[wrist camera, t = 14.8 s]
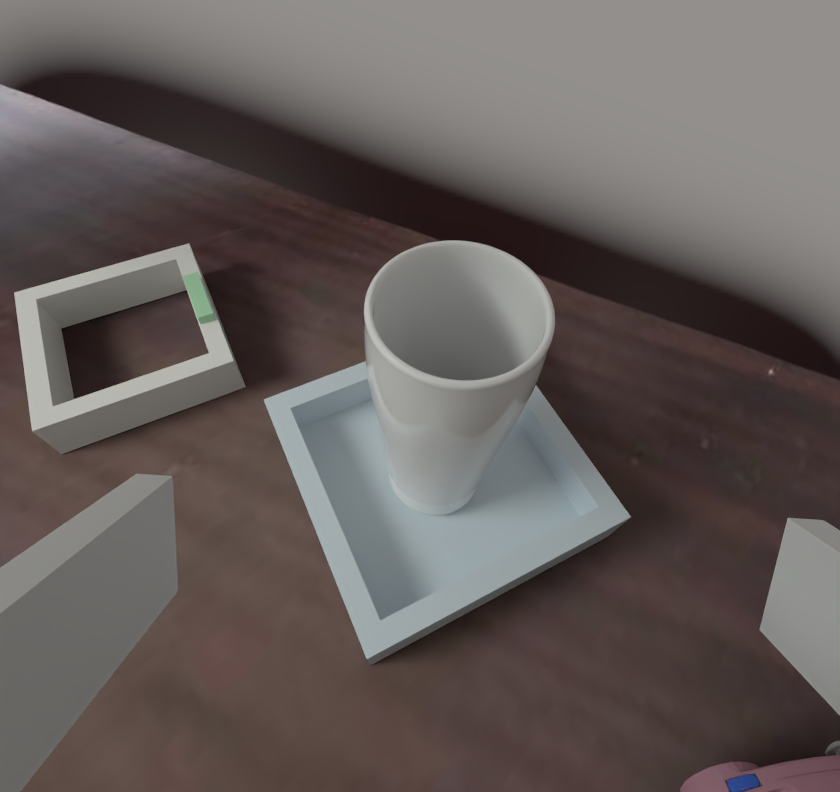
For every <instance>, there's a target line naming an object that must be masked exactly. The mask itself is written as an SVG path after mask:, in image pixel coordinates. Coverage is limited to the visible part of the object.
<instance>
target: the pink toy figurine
mask: <svg viewBox="0 0 840 792" xmlns="http://www.w3.org/2000/svg"><path fill="white" fill-rule="evenodd" d="M825 754H826V756H821V757H812V758H805V759H799V760H792V761H787V762H782V763H777V764H773V765H768V766H764V767H760V768H759V767H758V766H757V765H755V764H753V763H748V762H741V761H739V762H727V763H722V764H718V765H715V766H712V767H709V768H707V769H704V770H702V771H700V772H698V773H696V774H694V775H693V776H691V777H690V778H688V779H687V780H686V781H685V782H684V783H683V785H682V787H681V788H680V792H840V741H835V742H833V743H831V744H830V745H829V746H828V748H827V750H826V751H825Z"/></svg>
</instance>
